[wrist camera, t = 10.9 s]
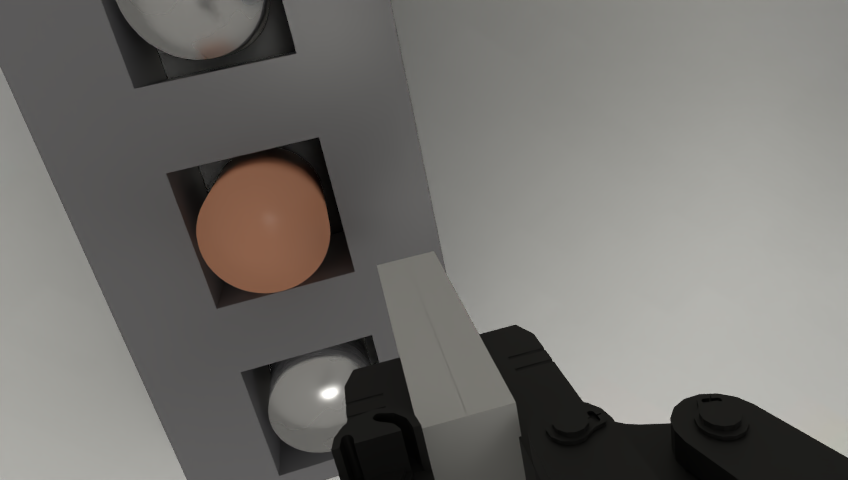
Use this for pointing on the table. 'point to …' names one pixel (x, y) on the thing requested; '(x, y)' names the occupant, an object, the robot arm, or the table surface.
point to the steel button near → (197, 25)
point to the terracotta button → (264, 222)
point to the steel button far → (313, 394)
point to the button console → (185, 194)
